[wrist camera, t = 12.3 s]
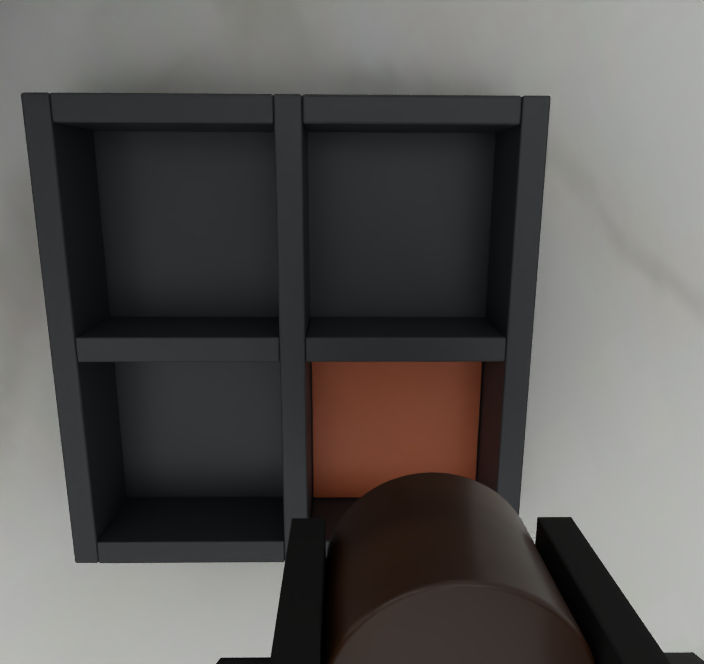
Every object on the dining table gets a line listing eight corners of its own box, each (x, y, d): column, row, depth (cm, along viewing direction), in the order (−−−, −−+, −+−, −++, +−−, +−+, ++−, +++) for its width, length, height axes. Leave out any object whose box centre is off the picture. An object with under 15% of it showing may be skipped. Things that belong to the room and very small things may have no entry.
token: (325, 654, 15) (319, 820, 11) (324, 470, 14) (317, 583, 10) (524, 653, 15) (588, 818, 11) (538, 470, 14) (615, 582, 10)
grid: (112, 509, 24) (74, 563, 21) (73, 107, 20) (19, 92, 17) (491, 507, 24) (516, 561, 21) (516, 109, 21) (551, 95, 17)
